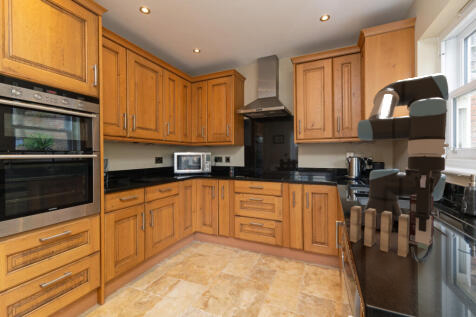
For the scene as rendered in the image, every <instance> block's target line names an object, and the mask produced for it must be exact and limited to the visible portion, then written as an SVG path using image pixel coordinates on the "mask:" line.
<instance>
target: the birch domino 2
mask: <svg viewBox="0 0 476 317" xmlns="http://www.w3.org/2000/svg"><path fill="white" fill-rule="evenodd" d="M376 230H377V229H376V209H371V208H369V209H367V210H365V227H364V238H363V239H364V240H363V242H364V243H363V244H364V245H363V246H367V247H370V248H371V247H372V246H374V244H376Z"/></svg>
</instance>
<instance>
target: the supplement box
mask: <svg viewBox="0 0 476 317" xmlns="http://www.w3.org/2000/svg"><path fill="white" fill-rule="evenodd" d="M433 199H434V196H433V195H432V211H431V212H433V213H434V201H433ZM415 213H416V194H414V195H411V196H410V198H409V213H408V215H410V218H409V244H410V245H411V244H412V245H413V246H418V242H415V235H416V218H415V217H413V215H415ZM430 216H432V217H431V239H429V245H428V247H430V245H431V244H433V242H434V216H433V215H430Z"/></svg>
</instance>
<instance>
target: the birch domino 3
mask: <svg viewBox="0 0 476 317" xmlns="http://www.w3.org/2000/svg"><path fill="white" fill-rule="evenodd" d="M392 228H393V226H392V212H389V211H384V212H383V213H381V229H380V241H379V250H380V251H383V252H387V253H388V252H389V250H391V248H392Z"/></svg>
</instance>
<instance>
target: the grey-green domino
mask: <svg viewBox="0 0 476 317" xmlns="http://www.w3.org/2000/svg"><path fill="white" fill-rule="evenodd" d="M420 213H421V212H420ZM428 247H429V246H428V244H424V243H419V242H418V245H417V248H420V249H425V250H428Z"/></svg>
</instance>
